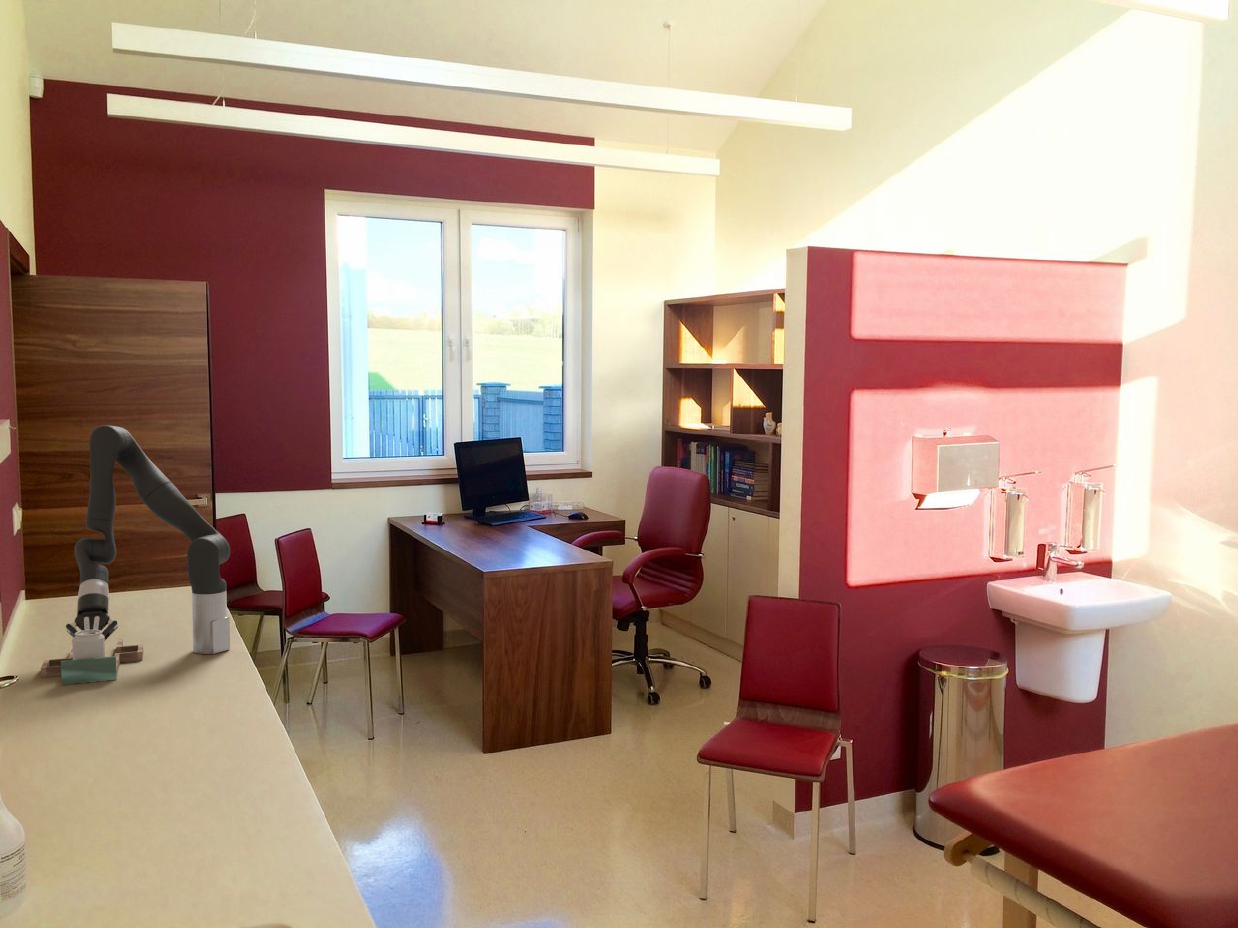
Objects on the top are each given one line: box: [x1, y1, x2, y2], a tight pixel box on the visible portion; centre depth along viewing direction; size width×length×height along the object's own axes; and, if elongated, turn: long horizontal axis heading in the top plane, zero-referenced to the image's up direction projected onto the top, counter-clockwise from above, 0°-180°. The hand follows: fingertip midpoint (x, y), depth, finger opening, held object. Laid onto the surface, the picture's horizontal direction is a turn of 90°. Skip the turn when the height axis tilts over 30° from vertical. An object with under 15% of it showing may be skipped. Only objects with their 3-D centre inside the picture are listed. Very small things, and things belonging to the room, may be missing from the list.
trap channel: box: [40, 638, 144, 686], centre depth 271 cm, size 35×24×6 cm
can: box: [71, 630, 106, 660], centre depth 260 cm, size 8×8×12 cm
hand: (90, 654), depth 264 cm, fingers closed
